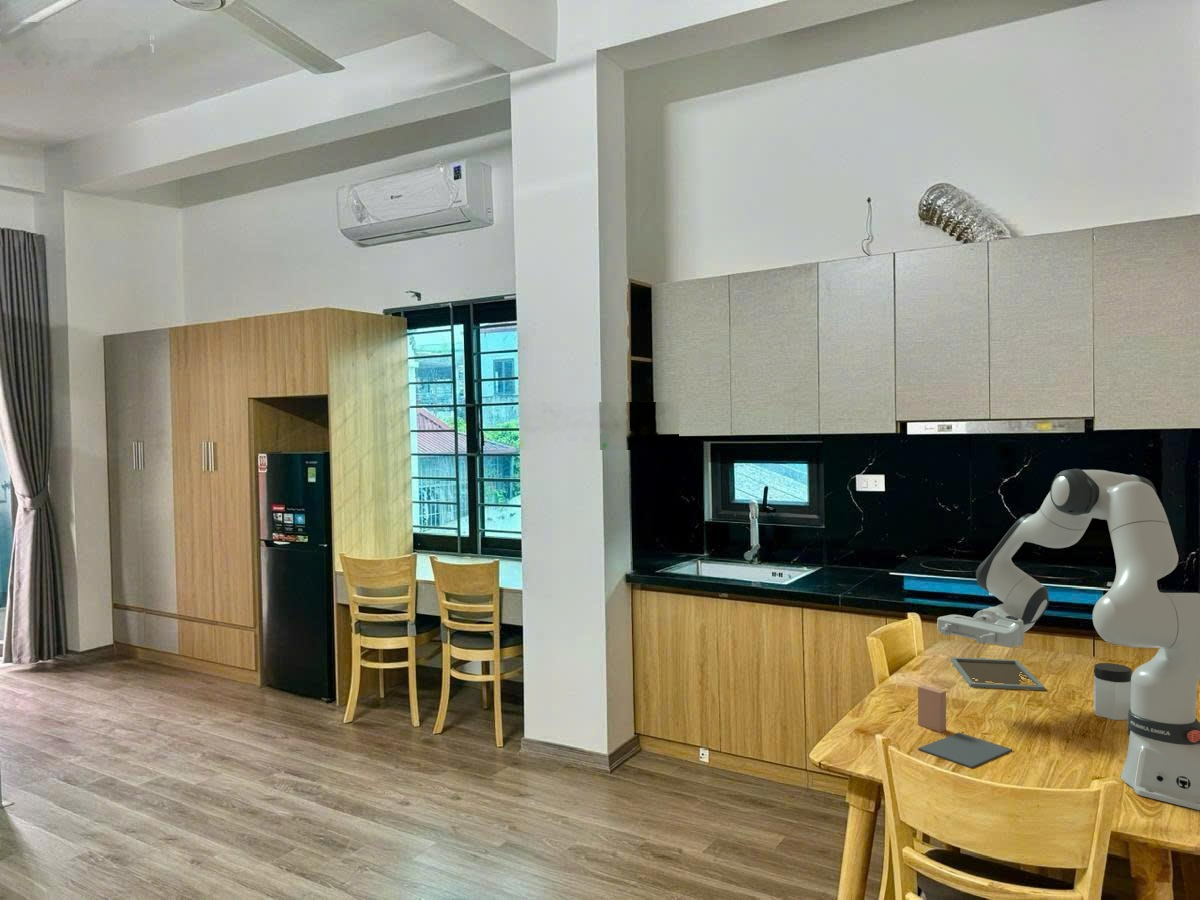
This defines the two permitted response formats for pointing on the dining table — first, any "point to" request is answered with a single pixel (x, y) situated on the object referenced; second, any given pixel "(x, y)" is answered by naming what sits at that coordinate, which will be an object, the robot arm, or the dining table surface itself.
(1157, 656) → the robot arm
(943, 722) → the block
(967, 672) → the grey picture frame
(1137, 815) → the dining table surface
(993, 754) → the mat
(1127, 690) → the jar
